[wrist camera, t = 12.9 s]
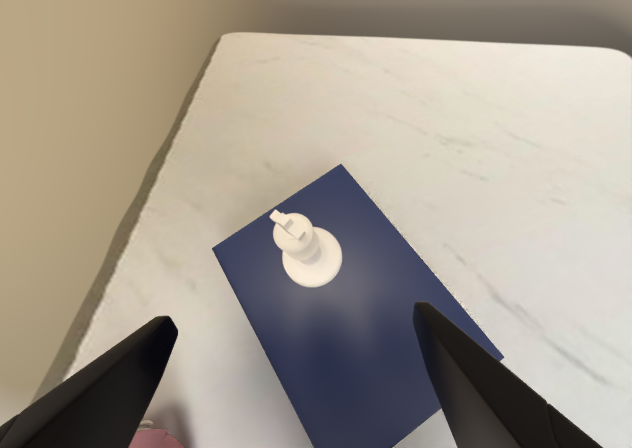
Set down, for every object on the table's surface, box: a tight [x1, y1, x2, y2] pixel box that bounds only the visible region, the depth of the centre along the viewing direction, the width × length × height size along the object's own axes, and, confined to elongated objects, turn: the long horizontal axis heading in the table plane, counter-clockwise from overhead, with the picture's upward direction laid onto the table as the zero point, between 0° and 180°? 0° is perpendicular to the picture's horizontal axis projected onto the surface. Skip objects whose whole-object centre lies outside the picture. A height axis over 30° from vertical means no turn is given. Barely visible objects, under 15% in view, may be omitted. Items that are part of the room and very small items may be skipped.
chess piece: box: [269, 209, 342, 287], centre depth 14 cm, size 5×5×10 cm
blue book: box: [212, 164, 504, 448], centre depth 19 cm, size 19×14×3 cm
